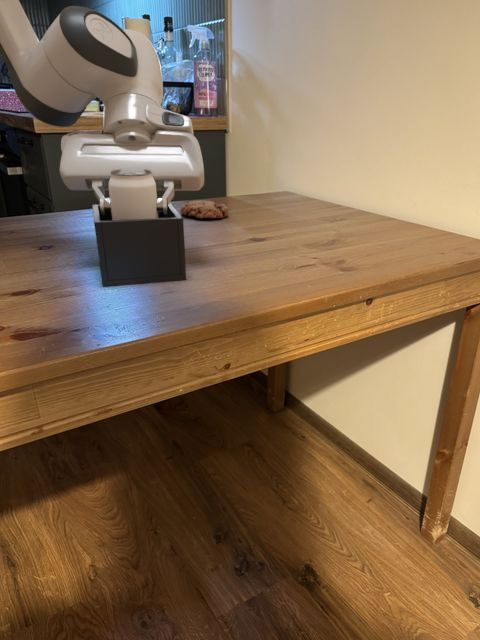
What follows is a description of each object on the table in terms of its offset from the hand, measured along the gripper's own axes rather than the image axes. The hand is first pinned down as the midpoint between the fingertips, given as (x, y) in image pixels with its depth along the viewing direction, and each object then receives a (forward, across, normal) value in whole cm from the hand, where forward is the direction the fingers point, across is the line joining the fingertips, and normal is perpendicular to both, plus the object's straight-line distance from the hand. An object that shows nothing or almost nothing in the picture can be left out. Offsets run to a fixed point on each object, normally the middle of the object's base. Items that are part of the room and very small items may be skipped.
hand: (134, 212), depth 70 cm
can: (+4, 0, +5) cm, 7 cm away
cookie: (-20, +11, +33) cm, 40 cm away
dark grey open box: (+6, 0, +6) cm, 9 cm away
